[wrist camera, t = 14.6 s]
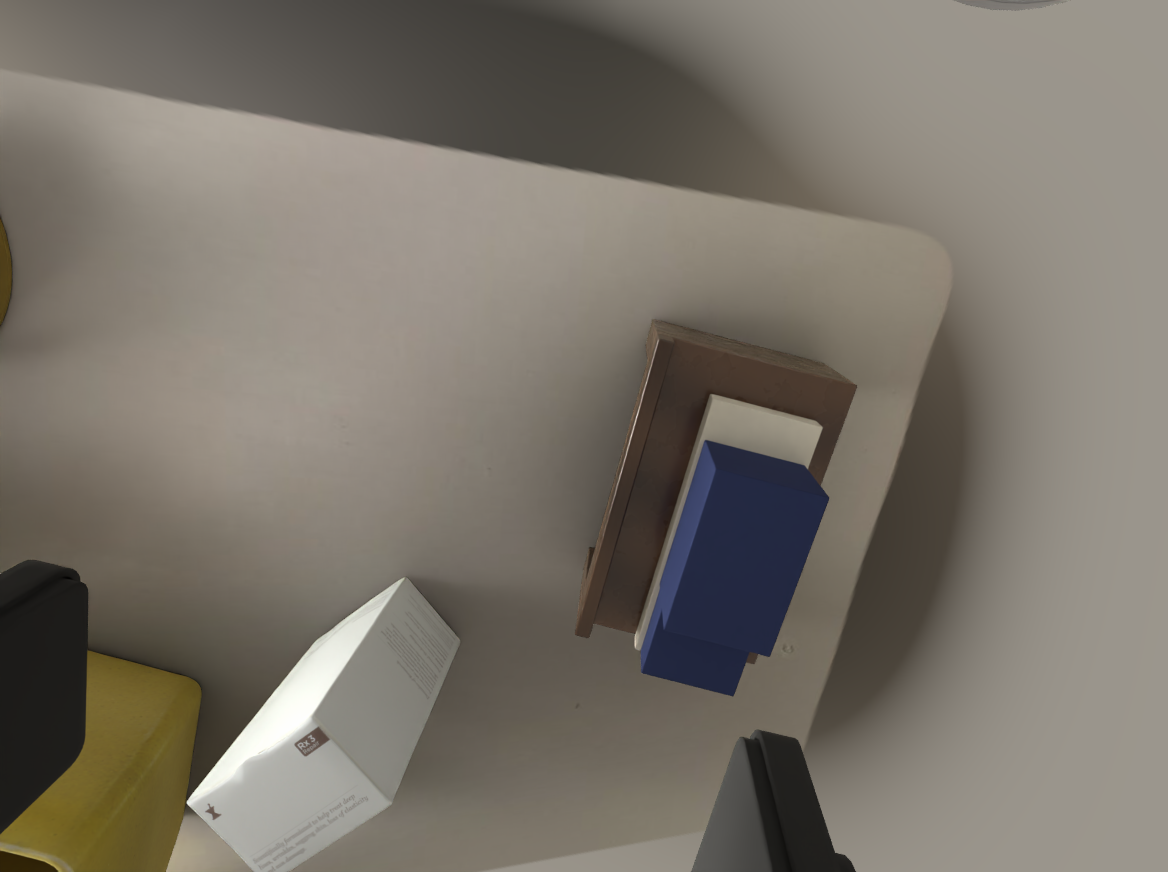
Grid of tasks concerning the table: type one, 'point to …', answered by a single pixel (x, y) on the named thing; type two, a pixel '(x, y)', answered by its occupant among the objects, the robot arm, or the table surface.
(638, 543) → the shelf
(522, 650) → the table surface
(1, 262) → the figurine
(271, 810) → the cosmetic box
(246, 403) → the table surface
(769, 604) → the navy stepped block
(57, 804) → the flower pot
